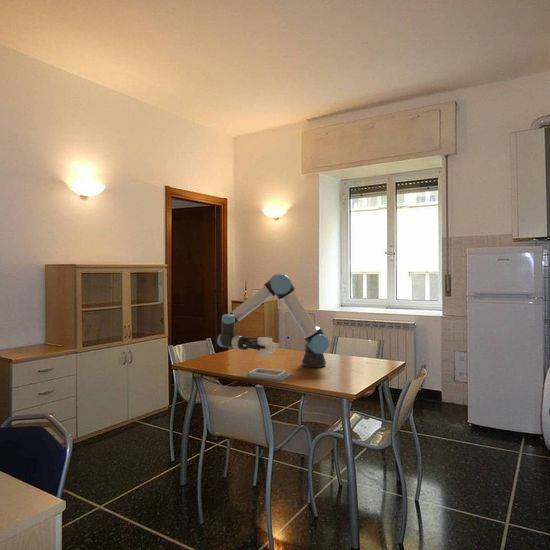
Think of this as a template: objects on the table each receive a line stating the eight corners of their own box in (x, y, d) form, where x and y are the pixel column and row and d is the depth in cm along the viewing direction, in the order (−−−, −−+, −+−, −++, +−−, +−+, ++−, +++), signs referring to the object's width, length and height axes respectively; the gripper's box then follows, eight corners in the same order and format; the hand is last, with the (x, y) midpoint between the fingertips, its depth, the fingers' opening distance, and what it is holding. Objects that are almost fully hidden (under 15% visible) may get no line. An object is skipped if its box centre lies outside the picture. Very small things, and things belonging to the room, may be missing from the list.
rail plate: (292, 374, 255) (292, 370, 255) (281, 382, 238) (282, 377, 238) (253, 370, 263) (253, 366, 263) (241, 377, 246) (241, 373, 246)
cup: (264, 354, 257) (264, 336, 257) (279, 357, 249) (280, 339, 249) (254, 356, 251) (254, 338, 251) (269, 359, 243) (270, 340, 243)
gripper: (251, 346, 269) (283, 350, 257) (230, 351, 250) (264, 356, 239) (251, 334, 269) (284, 337, 257) (230, 338, 250) (265, 342, 239)
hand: (274, 346), depth 248 cm, fingers closed on cup, 8 cm apart
